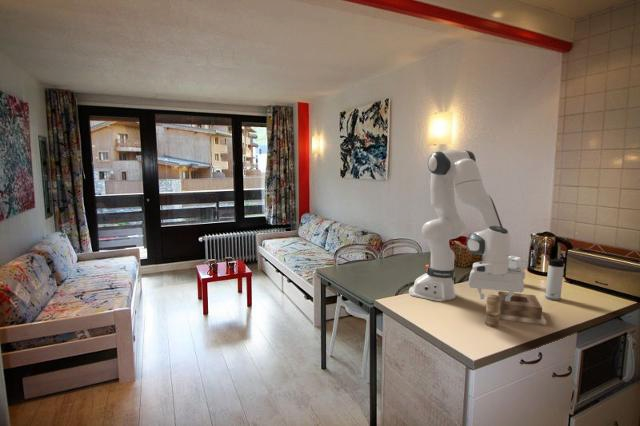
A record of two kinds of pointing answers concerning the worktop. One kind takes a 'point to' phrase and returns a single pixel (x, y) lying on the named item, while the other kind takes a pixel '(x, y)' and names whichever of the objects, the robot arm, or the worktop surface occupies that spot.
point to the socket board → (521, 308)
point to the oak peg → (492, 310)
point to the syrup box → (514, 262)
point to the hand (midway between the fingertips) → (494, 299)
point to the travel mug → (554, 279)
